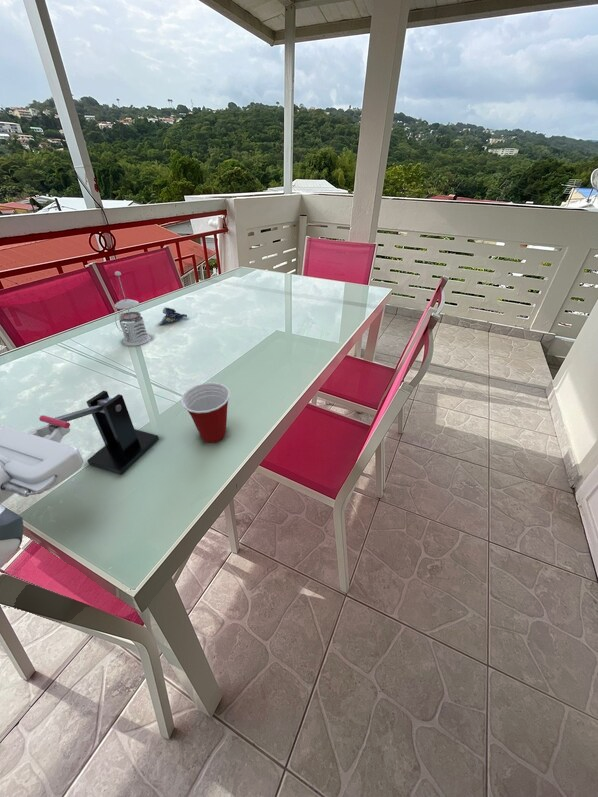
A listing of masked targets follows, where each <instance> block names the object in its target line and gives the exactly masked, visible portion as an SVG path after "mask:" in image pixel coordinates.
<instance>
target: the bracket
mask: <svg viewBox="0 0 598 797" xmlns="http://www.w3.org/2000/svg"><path fill="white" fill-rule="evenodd" d="M108 397H109V398H110V395H109V393H108V391H107V390H102V391H100V392H99V393H97V394H96V395H94V396H93V397H91V398H89V399H88V400H87V401H86V404H87V408H89V407H93V406H96V405H97V401H98V400H101V399H105V398H108ZM111 398H112V399H111V400H109V401H108V402H107V403H105V404H104V405H102V407H103V410H104V412H105V413H102V412H96V413H93V414H91V416H92V418H93V420H94V422H95V424H96V427H97V429H98V431H99V434H100V436H101V438H102V441H103V444H104V446H102V447H101V448H100V449H99V450H98V451H96V452H95V453H94V454H93V455H92V456H90V457H89V458H88V459H87V460H86V462H87V463H88V465H90V466H93V467H96V468H100V469H102V470H106V471H109V472H112V473H114V474H117V475H124V474H125V472H127V471H128V469H129V468H131V466H132V465H134V464H135V463H136V462H137V461H138V460H139V459H140V458H141V457H142V456H143V455H144V454H145V453H146V452H147V451H148V450H150V448H152V447H153V445H155V444H156V442H158V441H159V434H158V435H157V434H153V433H150V432H146V431H143V430H139V429H136V428H135V427H134V424H133V420H132V418H131V416H130V412H129V410H128V407H127V404H126V402H125V399H124V396H123V395H122V394H120V393H118V394H117V395H115V396H114V397H111Z"/></svg>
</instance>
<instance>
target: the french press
mask: <svg viewBox="0 0 598 797" xmlns="http://www.w3.org/2000/svg"><path fill="white" fill-rule="evenodd" d="M114 275H115V276H117V277H118V280H119V284H120V287H121V291H122V295H123V298H124V299H121V300H119V301H117V302H116V303H115V304H114V306H113V307H114V308H115V309H116V310H127V312H119V311H117V312H116V314H115V317H114V319H115V325H116V326H115V327H117V329H118V330H119V331H120V332H122V333H123V337H124V340H123V341H122V344H124V345H125V346H130V347H131V346H134V347H135V346H140V345H144V344H147V343H149V342H150V341H151V340H152V336H150V335H148V332H147V328H146V325H145V321H144V317H143V316H141V315H142V314H141V313H140V312H139V311H130V309H133V308H136V307H138V306H139V305H140V302H139V301H138V300H135V299H130V298H126V294H125V293H124V289H123V285H122V282H121V278H120V276H122V273H121V271H118V270H116V271H114ZM118 315H119V316H118ZM117 316H118V317H119V320H118V321H119V322H118V323H119V326H120V328H121V329H120V328H119V326H118V323H117Z"/></svg>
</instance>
